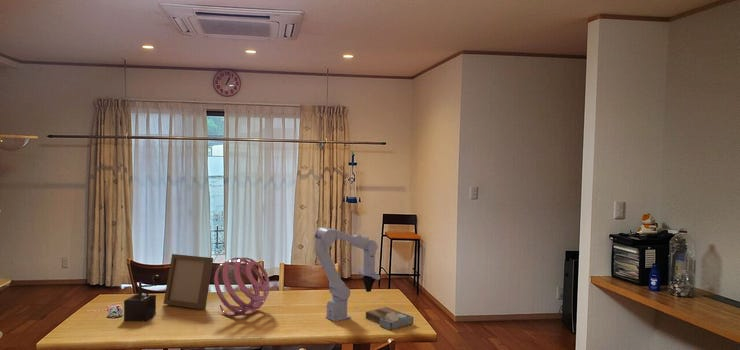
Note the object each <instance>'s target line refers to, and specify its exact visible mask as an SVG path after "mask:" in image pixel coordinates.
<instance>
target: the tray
mask: <svg viewBox="0 0 740 350" xmlns="http://www.w3.org/2000/svg"><path fill="white" fill-rule="evenodd" d="M401 314H403V315H406V316H408V318H404V319H401V320H397V321H393V322H389V321H387V320H384V319H382V318H380V324H379V327H381V328H384V329H385V330H388V331H390V332H391V331H395V329H396V330H399V329H403V328H406V327H409V326H408V325H410V326H413V325H414V316H412V315H411V314H407V313H404V312H401ZM412 324H413V325H412ZM405 326H406V327H405ZM402 327H403V328H402ZM398 328H399V329H398Z"/></svg>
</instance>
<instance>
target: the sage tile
mask: <svg viewBox="0 0 740 350" xmlns="http://www.w3.org/2000/svg"><path fill="white" fill-rule="evenodd" d="M396 316H397V317H398V318H399V320H401V319H404V318H408V316H406V315H403V314H397V315H396Z"/></svg>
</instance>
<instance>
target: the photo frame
mask: <svg viewBox="0 0 740 350" xmlns="http://www.w3.org/2000/svg"><path fill="white" fill-rule="evenodd" d="M213 263H214V257H207V256H206V257H205V256H198V255H197V256H195V255H188V254H187V255H186V254H185V255H184V254H176V253H172V254H171V258H170V264H169V265H170V266H169V270H168V276H167V281H166V288H165V293H164V298H163V299H164V300H163V305H170V306H177V307H183V308H184V307H186V308H189V309H190V308H192V309H197V310H203V309H206V308H207V307H206V306H207V301H208V295H209V289H210V288H209V287H210V282H211V278H212V277H211V276H212V270H213Z"/></svg>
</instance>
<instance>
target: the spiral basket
mask: <svg viewBox="0 0 740 350" xmlns="http://www.w3.org/2000/svg"><path fill="white" fill-rule="evenodd" d="M235 260H236V261H235ZM241 263H244V264H245V266H243V265H242V264H241ZM229 266H233V274H234V279H235V283H236V284H237V286H238V288H239V290H240V291H241V292H243V294H244V295H245V296H246V297H247V298H249V299H250V301H249V302H248V303H247V302H245V301H243V299H241V298H240V297H239V296H238V294H237V293H236V292H235V290H234V289H233V287H232V285H231V284H232V283H231V282H230V279H229V273H228V272H229ZM256 266H257V267H258V268H259V269H260V270H259V269H258V268H257V267H256ZM222 267H223V269H222V280H223V284H224V287H225V289H226V291H227V293H228V295H229V296H230V298H231V299H232V300H233V301H234V302H235V303H236V304H237V305H233V304H231V303H230V302H229V301H228V300H227V299H226V297H225V295H224V294H223V292H222V290H221V287H220V282H219V272H220V270H221V268H222ZM240 271H241V272H242V274H244V275H245V277H247V279H248V280H249V282H250V284H251V285H252V288H253V291H254V293H253V292H252V291H251V290H250V289H249V288H248V287H247V286H246V284H245V283H244V281H243V279H242V275H241V272H240ZM252 271H253V272H254V273H255V275H256V276H257V277H258V280H259V282H258V281H257V280H256V278H255V276H254V275H253V272H252ZM260 271H261V272H262V274H263V276H264V277H263V276H262V274H261V272H260ZM213 282H214V288H215V291H216V294H217V296H218V298H219V300H220V302H221V303H222V304H223V305H224V307H225V308H227V310H228V311H230V312H232V314H231V313H228V312H226V311H225V310H224V308H223V306H222V305H221V304H219V308H220V311H221V312H222V314H224V315H226V317H241V316H242V317H246V316H250V315H252V314H254V313H255V312H257V310H259V309H261V308H262V306H263V305H264V304H265V302H266V300H267V298H268V296H269V293H270V288H271V287H270V286H271V285H270V278H269V275H268V272H267V270H266V268H264V266H263V265H261V263H259V262H257V261H256V260H254V259H253V258H250V257H232V258H229V259H228V260H227V261H224V262H222V263H221V264H220V265H218V267H217V268H216V270H215V271H214V276H213ZM261 291H262V293H263V295H261V294H260V293H261ZM249 311H250V312H249Z"/></svg>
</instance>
